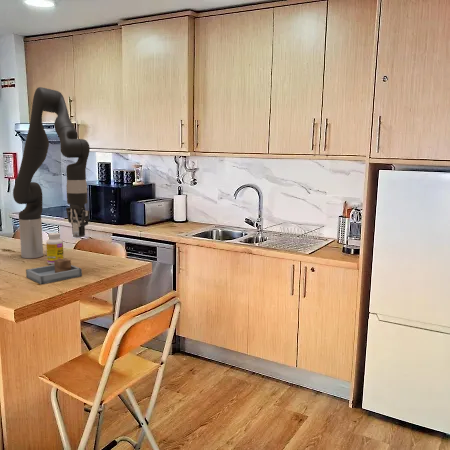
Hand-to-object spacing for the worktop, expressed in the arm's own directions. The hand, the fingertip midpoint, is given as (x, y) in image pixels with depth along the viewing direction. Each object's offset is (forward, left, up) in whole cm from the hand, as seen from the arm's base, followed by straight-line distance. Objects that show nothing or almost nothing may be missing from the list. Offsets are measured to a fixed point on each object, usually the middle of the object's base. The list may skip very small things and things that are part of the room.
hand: (78, 234), depth 186 cm
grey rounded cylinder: (0, 0, -1) cm, 1 cm away
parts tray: (0, -10, -15) cm, 18 cm away
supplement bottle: (-20, 0, -15) cm, 26 cm away
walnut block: (0, -7, -14) cm, 16 cm away
